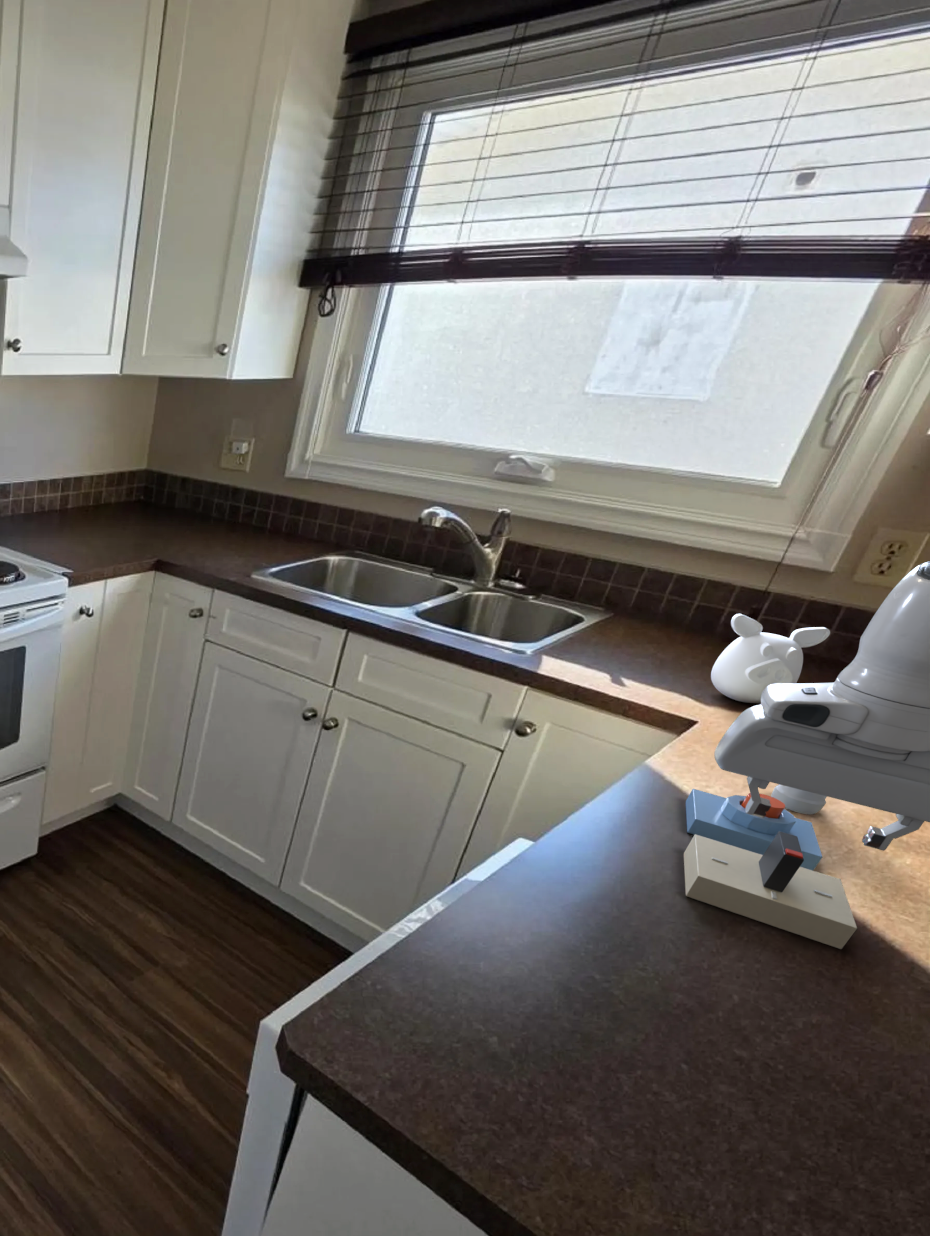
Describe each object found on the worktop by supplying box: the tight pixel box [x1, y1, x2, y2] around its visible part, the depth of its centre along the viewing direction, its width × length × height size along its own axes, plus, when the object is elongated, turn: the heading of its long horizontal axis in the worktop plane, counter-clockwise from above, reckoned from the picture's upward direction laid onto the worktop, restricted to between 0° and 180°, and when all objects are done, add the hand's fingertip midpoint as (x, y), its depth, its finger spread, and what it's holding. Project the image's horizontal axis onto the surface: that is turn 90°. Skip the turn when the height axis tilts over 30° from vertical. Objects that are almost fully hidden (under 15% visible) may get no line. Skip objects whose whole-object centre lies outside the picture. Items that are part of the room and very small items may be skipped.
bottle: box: [770, 784, 828, 815], centre depth 106 cm, size 5×5×25 cm
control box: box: [683, 834, 858, 950], centre depth 92 cm, size 13×11×3 cm
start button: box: [741, 792, 786, 819], centre depth 103 cm, size 4×4×2 cm
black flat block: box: [759, 831, 804, 892], centre depth 90 cm, size 6×2×5 cm, turn 141°
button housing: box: [685, 788, 823, 871], centre depth 104 cm, size 12×10×4 cm
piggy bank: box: [710, 613, 831, 704], centre depth 140 cm, size 12×12×15 cm
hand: (811, 829), depth 88 cm, fingers open, 8 cm apart
